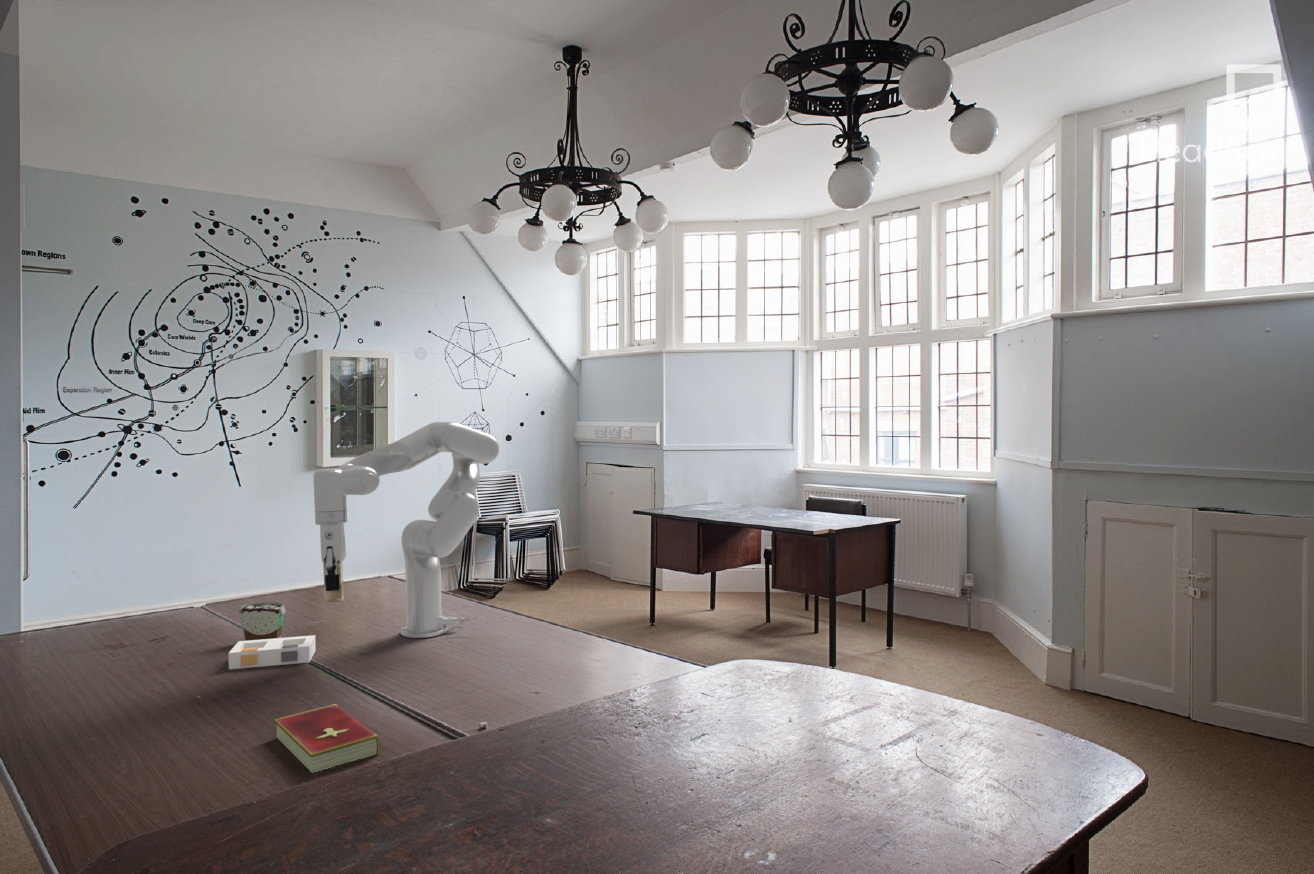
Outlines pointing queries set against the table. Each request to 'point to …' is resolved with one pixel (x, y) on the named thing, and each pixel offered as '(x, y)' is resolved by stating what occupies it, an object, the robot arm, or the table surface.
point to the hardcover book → (326, 737)
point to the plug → (337, 594)
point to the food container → (262, 620)
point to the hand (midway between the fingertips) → (333, 587)
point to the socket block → (272, 652)
